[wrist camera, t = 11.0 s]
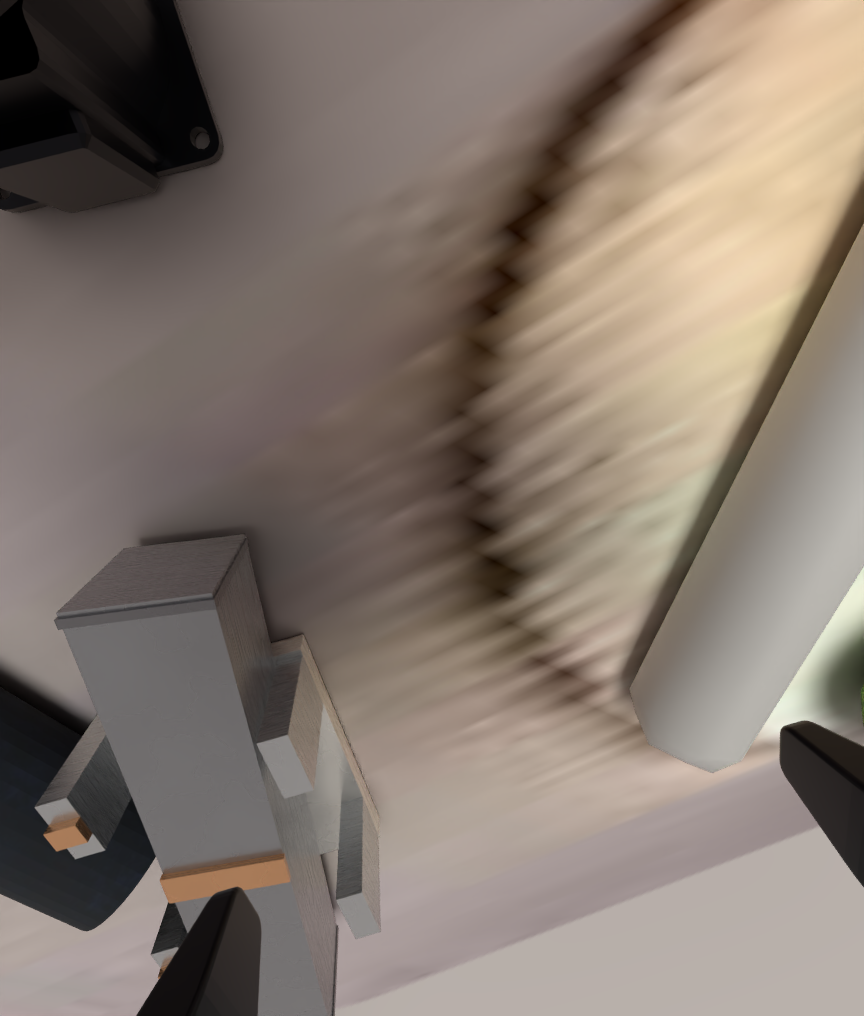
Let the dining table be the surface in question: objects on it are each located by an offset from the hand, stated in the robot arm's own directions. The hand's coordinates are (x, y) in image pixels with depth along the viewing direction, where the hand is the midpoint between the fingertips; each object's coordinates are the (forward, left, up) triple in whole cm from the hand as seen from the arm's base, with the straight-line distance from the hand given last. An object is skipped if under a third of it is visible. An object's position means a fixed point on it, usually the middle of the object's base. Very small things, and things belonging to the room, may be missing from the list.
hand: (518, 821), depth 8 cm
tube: (+1, +14, -12) cm, 19 cm away
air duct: (+8, -10, -11) cm, 17 cm away
